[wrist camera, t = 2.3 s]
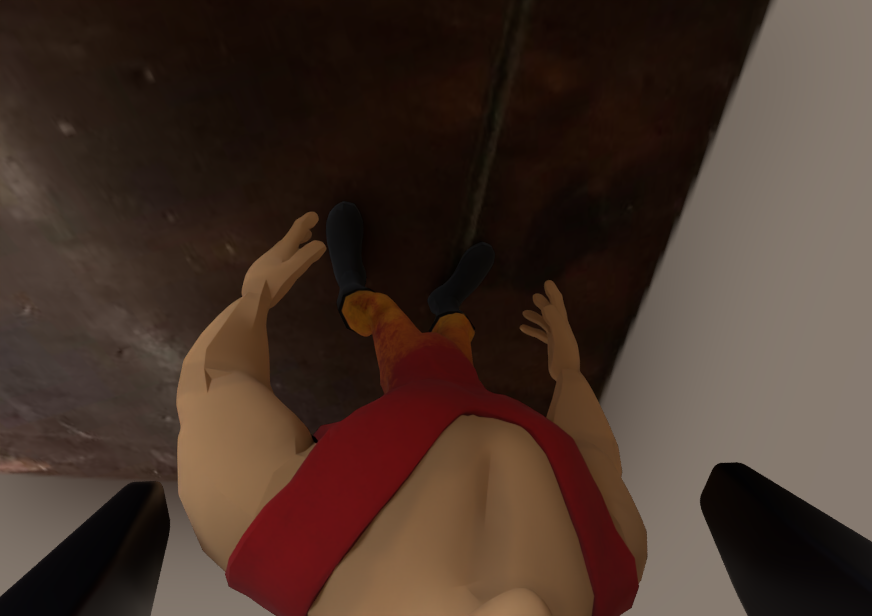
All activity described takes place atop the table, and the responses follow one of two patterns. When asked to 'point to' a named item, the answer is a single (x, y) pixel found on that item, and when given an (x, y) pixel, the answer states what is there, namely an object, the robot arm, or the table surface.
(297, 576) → the action figure
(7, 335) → the table surface
